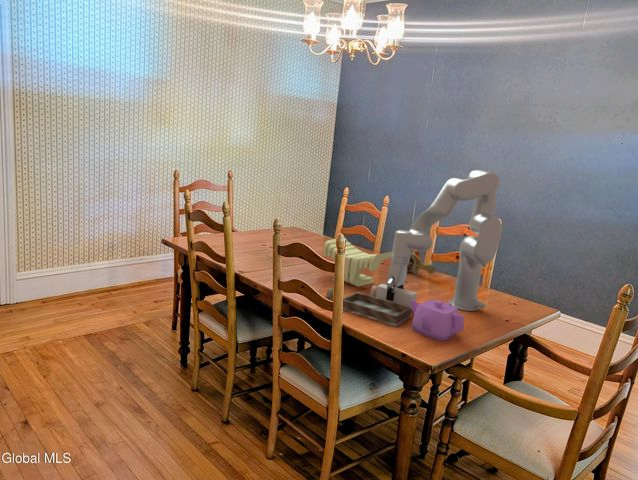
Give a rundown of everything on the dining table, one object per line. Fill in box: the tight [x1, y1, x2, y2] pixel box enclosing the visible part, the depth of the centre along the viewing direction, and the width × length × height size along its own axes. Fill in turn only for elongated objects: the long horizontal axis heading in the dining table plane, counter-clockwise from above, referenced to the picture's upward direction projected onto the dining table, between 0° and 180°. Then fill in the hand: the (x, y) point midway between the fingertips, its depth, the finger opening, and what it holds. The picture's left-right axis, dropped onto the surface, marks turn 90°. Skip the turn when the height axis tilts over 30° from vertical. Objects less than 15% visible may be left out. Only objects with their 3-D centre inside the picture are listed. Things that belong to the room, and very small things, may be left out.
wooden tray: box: [342, 291, 412, 327], centre depth 194 cm, size 25×14×4 cm, turn 56°
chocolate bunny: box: [325, 277, 335, 300], centre depth 206 cm, size 6×8×10 cm
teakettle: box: [410, 299, 465, 342], centre depth 180 cm, size 17×17×12 cm
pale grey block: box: [369, 283, 417, 311], centre depth 207 cm, size 19×5×7 cm, turn 58°
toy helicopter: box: [407, 249, 436, 275], centre depth 254 cm, size 8×21×14 cm, turn 39°
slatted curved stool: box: [322, 237, 392, 287], centre depth 233 cm, size 30×16×18 cm, turn 47°
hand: (394, 297), depth 207 cm, fingers open, 9 cm apart
